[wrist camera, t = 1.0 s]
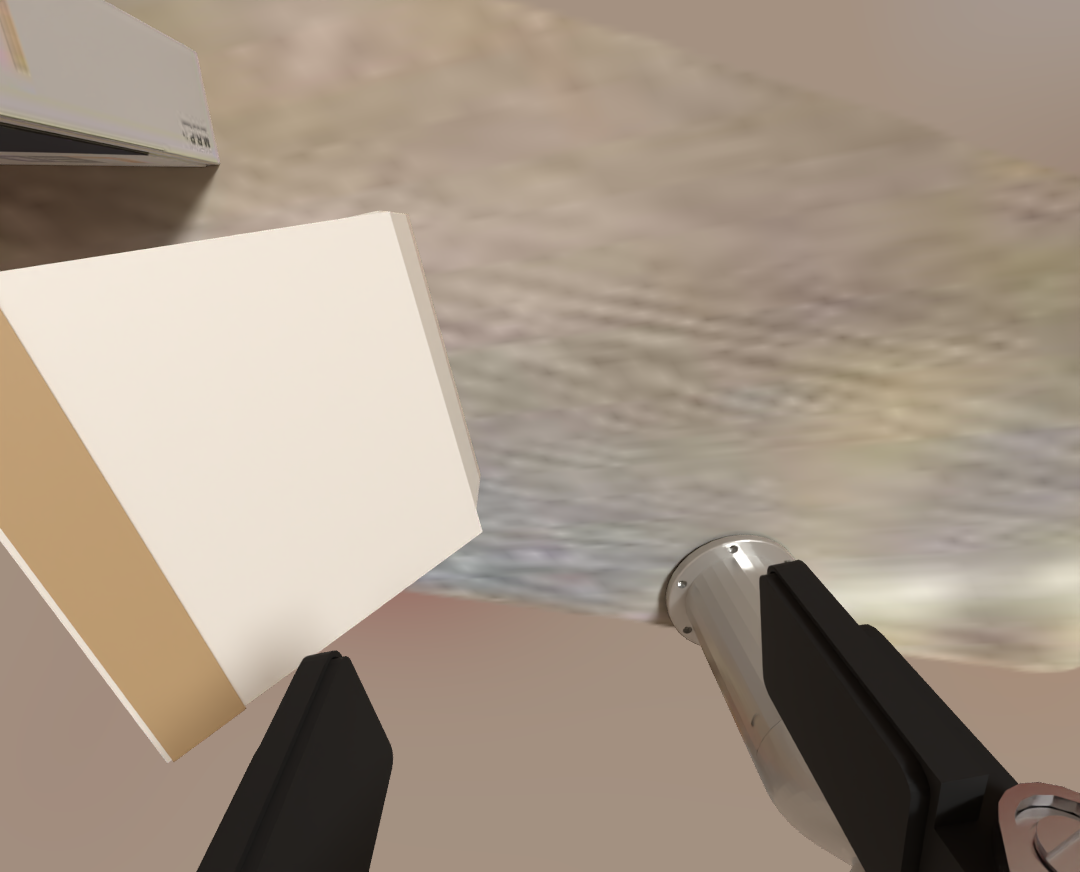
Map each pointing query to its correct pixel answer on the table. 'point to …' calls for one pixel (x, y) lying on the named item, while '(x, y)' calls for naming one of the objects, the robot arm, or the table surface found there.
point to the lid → (223, 457)
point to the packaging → (98, 89)
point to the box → (436, 346)
